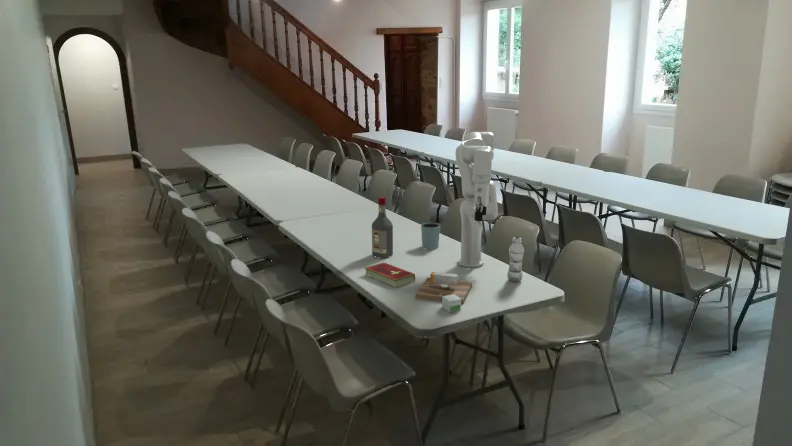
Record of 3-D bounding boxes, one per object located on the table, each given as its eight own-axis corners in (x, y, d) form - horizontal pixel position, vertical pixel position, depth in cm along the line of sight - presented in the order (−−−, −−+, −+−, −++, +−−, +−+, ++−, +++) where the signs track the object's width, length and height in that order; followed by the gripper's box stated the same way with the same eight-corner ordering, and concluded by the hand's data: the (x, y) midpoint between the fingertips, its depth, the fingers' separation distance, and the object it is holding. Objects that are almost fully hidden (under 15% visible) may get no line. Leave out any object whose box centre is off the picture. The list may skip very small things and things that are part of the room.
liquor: (380, 251, 302) (380, 194, 294) (395, 254, 297) (394, 197, 289) (369, 256, 295) (368, 198, 287) (384, 259, 290) (383, 200, 282)
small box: (449, 312, 230) (449, 301, 228) (441, 307, 235) (441, 296, 233) (461, 310, 232) (461, 298, 231) (453, 304, 237) (454, 293, 236)
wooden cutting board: (427, 281, 261) (427, 276, 261) (472, 286, 256) (472, 281, 255) (415, 298, 243) (415, 293, 243) (463, 303, 237) (463, 299, 237)
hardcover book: (384, 269, 277) (384, 261, 276) (415, 281, 262) (415, 272, 261) (364, 275, 270) (364, 267, 269) (395, 288, 255) (395, 279, 254)
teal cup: (419, 249, 306) (419, 227, 302) (422, 243, 315) (422, 221, 312) (439, 250, 304) (439, 228, 301) (440, 244, 314) (441, 222, 310)
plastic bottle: (512, 277, 266) (514, 234, 261) (525, 280, 262) (527, 238, 256) (504, 280, 262) (506, 237, 257) (516, 284, 257) (519, 241, 252)
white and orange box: (457, 286, 250) (457, 273, 248) (455, 290, 246) (456, 277, 244) (432, 283, 252) (432, 271, 251) (429, 287, 248) (430, 274, 247)
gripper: (487, 183, 236) (486, 223, 241) (493, 175, 252) (492, 213, 257) (469, 181, 238) (467, 222, 243) (476, 174, 254) (475, 212, 259)
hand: (480, 217), depth 250 cm, fingers open, 9 cm apart
